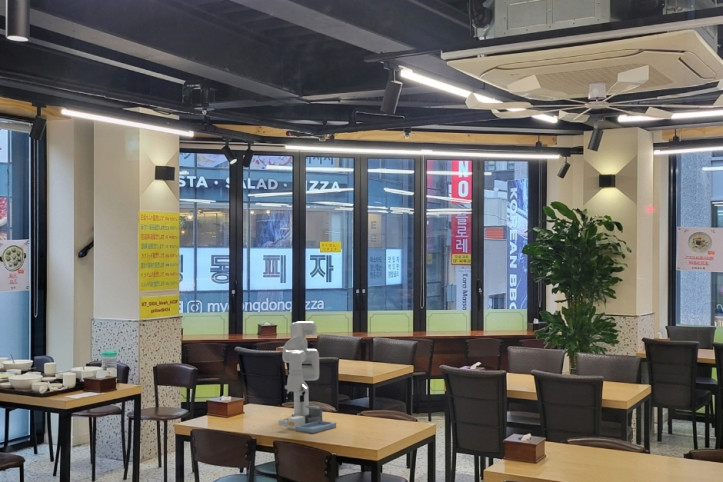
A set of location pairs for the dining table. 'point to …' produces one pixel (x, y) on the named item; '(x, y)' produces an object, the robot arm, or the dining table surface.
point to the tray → (315, 426)
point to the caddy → (293, 422)
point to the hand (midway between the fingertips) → (295, 401)
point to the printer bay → (313, 414)
